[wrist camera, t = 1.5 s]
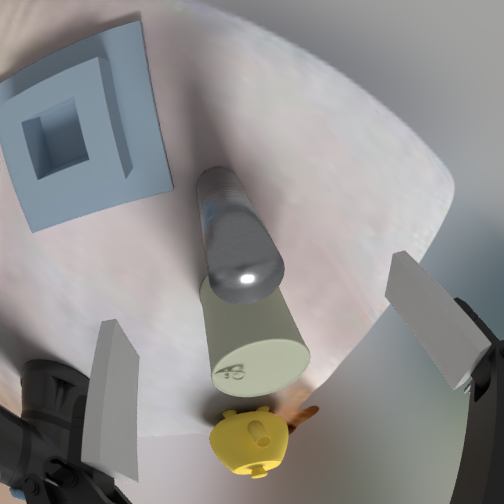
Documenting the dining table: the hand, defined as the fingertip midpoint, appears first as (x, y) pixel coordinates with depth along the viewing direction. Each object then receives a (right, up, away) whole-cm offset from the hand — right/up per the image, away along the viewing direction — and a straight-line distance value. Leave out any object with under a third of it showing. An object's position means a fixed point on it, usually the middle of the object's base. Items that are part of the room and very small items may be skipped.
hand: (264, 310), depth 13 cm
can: (-2, -2, +21) cm, 21 cm away
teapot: (-2, -29, +38) cm, 48 cm away
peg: (-4, +9, +14) cm, 17 cm away
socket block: (-17, +13, +8) cm, 23 cm away
